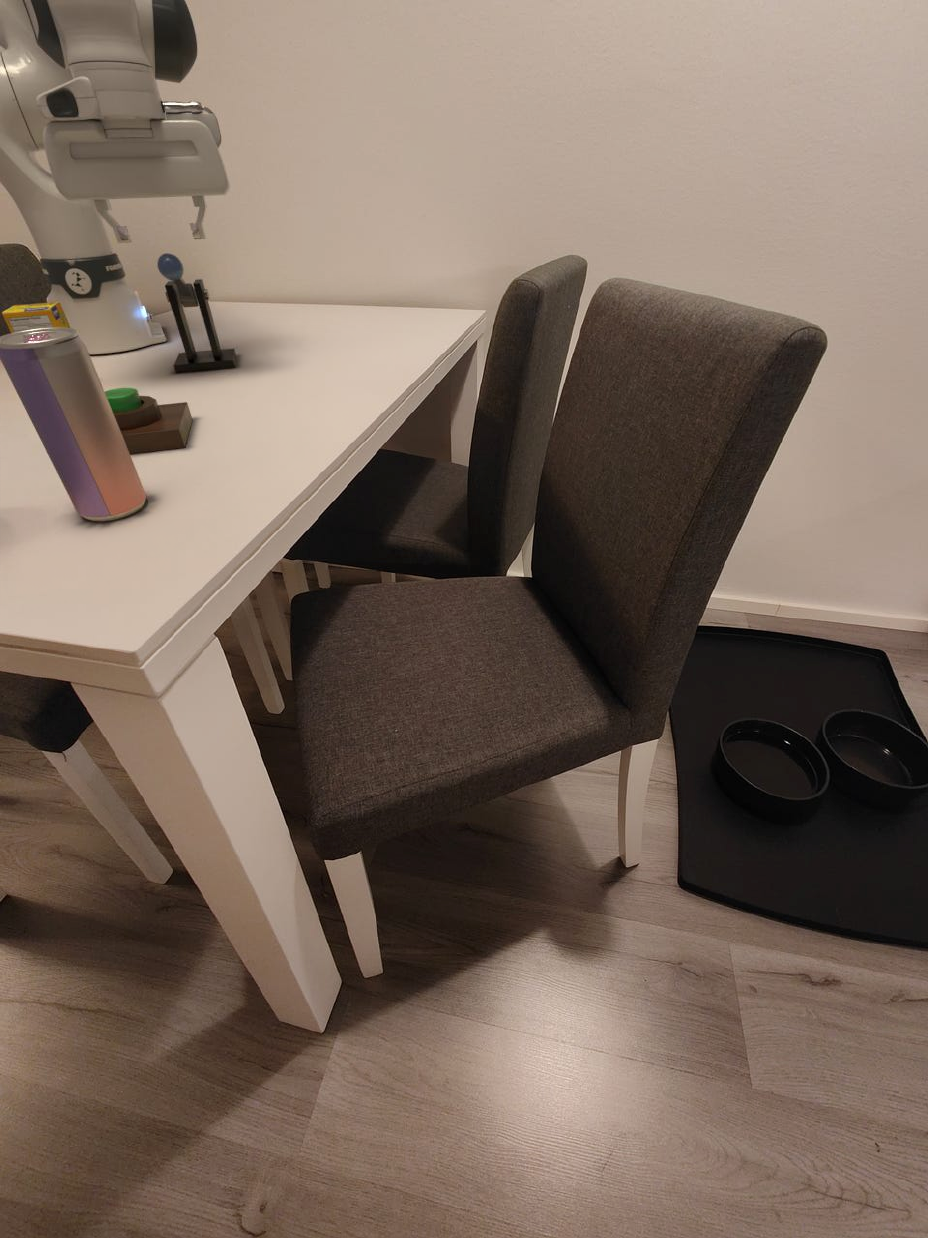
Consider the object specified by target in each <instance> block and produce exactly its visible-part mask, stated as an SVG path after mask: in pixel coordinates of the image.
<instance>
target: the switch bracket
mask: <svg viewBox="0 0 928 1238" xmlns="http://www.w3.org/2000/svg"><path fill="white" fill-rule="evenodd" d="M192 286H193V287H194V289H195V292H196V296H197V300H198V305H199V306H198V308H199V310H200V313H201V318H202V321H203V325H204V328H205V332H206V336H207V338H208V342H209V346H210V349H211V350H210V349H209V350H199V351H198V350H197V351H196V348H195V344H194V341H193V340H194V339H193V337H192V334H191V330H190V326H189V323H188V320H187V317H186V313H185V310H184V306H183V305H182V303H181V302H180V299H179V295H178V290H177V286H176V284H175V283H174V281H171V280H168V281H167V283H166V284H165V285H164V288H165V297H166V300H167V302H168V303H169V304H170V308H171V310H172V314H173V318H174V320H175V324H176V327H177V331H178V333H179V336H180V340H181V343H182V346H183V351H184V352H179V353H178V354H177V356H176V359H175V360H174V364H173V369H174V371H175V373H176V374H180V373H182V374H183V373H191V372H192V373H193V372H202V371H212V370H225V369H233V368H235V367H236V362H237V353H236V349H235V348H223V349H222V348H221V344H220V341H219V337H218V333H217V329H216V325H215V322H214V318H213V314H212V311H211V307H210V302H209V300H210V294H209V291H208V289H207V288H205V284H204V281H203V279H202V278H197V279H195V280H194V281H193V283H192Z"/></svg>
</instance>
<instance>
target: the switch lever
mask: <svg viewBox="0 0 928 1238" xmlns="http://www.w3.org/2000/svg"><path fill="white" fill-rule="evenodd" d="M156 264H157V269H158V272H159V273H160V274H161V276H162V277H163V278H165V279H166V280H168V281H174V283H175V284H176V286H177V290H178V295H179V299H180V302H181V303H182V306H183V308H199V303H198V300H197V296H196V292H195V289H194V285H193V283H192V282H189V283H186V281H185V280H184V278H183V275H184V272H185V271H184V265H183V263H182V261H181V260H180V258H178V257H177V255H174V254H172V253H168V252H167V253H162V254H161V255H160V256H158V259H157V263H156Z"/></svg>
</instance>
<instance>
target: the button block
mask: <svg viewBox="0 0 928 1238" xmlns="http://www.w3.org/2000/svg"><path fill="white" fill-rule="evenodd" d="M139 396H140V399H141V402H142V404H143V405H141V406H139V407H137V408H134V409H130V410H126V411H117V412H113V414H114V416H115V419H116V421H117V424H118V426H119V429H120V431H121V434H122V436H123V439H124V441H125V443H126V446H127V448H128V451H129V453H130V455H133V454H134V455H135V454H140V453H141V454H142V453H150V452H159V451H166V450H167V451H168V450H174V449H175V450H176V449H185V448H186V445H187V441H188V437H189V433H190V430H191V426H192V422H193V415H192V413H191V410H190V407H189V403H188V402H187V401H184V402H175V403H165V404H164V403H163V404H158V401H157V399H156V398H154V397H152V396H149V395H139Z"/></svg>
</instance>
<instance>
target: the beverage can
mask: <svg viewBox="0 0 928 1238" xmlns="http://www.w3.org/2000/svg"><path fill="white" fill-rule="evenodd" d="M0 362H1V364H2V366H3V368H4V370H5V371H6V373H7V376H8V378H9V379H10V382H11V383H12V386H13V388H14V389H15V391H16V394H17V395H18V397H19V400H20V401H21V404H22V406H23V408H24V409H25V412H26V414H27V416H28V418H29V419H30V421H31V423H32V425H33V428H34V429H35V432H36V434H37V435H38V438H39V439H40V441H41V444H42V445H43V447H44V449H45V452H46V453H47V455H48V457H49V459H50V461H51V463H52V465H53V468H54V469H55V471H56V474H57V475H58V477H59V479H60V481H61V483H62V485H63V487H64V489H65V491H66V493H67V496H68V497H69V499H70V501H71V503H72V505H73V507H74V510H75V511H76V513H77V514H79V515H80V516H81V517H83V518H84V519H86V520H88V521H91V522H92V521H93V522H109V521H110V522H111V521H116V520H119V519H124V518H127V517H128V516H131V515H133V514H135V513H136V512H138V511H139V510H141V509H142V508H143V507H144V505H145V503H146V498H147V494H146V490H145V488H144V485H143V483H142V481H141V480H142V479H141V478H140V476H139V473H138V471H137V468H136V466H135V463H134V461H133V459H132V455H131V454H130V453H129V451H128V448H127V446H126V443H125V441H124V439H123V436H122V434H121V431H120V429H119V426H118V424H117V421H116V419H115V416H114V414H113V412H112V409H111V407H110V404H109V402H108V399H107V397H106V394H105V390H104V386H103V385H102V382H101V380H100V376H98V375H99V374H98V372H97V370H96V367H95V365H94V363H93V360H92V358H91V354H89V353H88V350H87V348H86V345H85V344H84V343H83V341H82V340H81V339H80V338H79V336H78V332H77V331H76V330H75V329H72V328H64V327H55V328H40V329H32V330H25V331H20V332H15V333H11V332H10V333H7V334H4V335H1V336H0Z"/></svg>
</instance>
